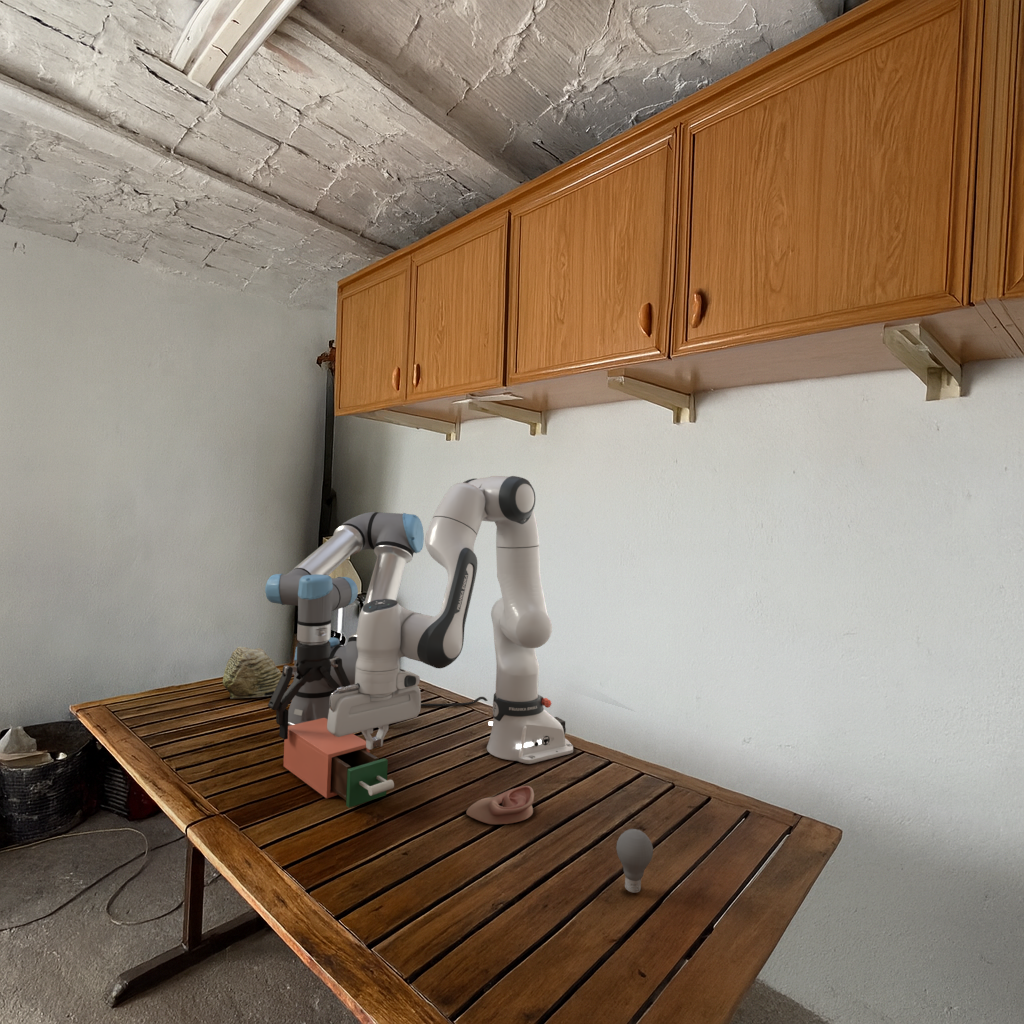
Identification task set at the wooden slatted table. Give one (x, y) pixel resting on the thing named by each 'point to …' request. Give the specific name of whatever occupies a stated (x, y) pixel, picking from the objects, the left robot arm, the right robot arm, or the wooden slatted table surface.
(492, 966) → the wooden slatted table surface
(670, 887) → the wooden slatted table surface
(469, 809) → the anatomical model
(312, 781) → the cabinet
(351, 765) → the drawer
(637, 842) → the light bulb
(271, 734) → the wooden slatted table surface
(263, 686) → the fossil
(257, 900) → the wooden slatted table surface
